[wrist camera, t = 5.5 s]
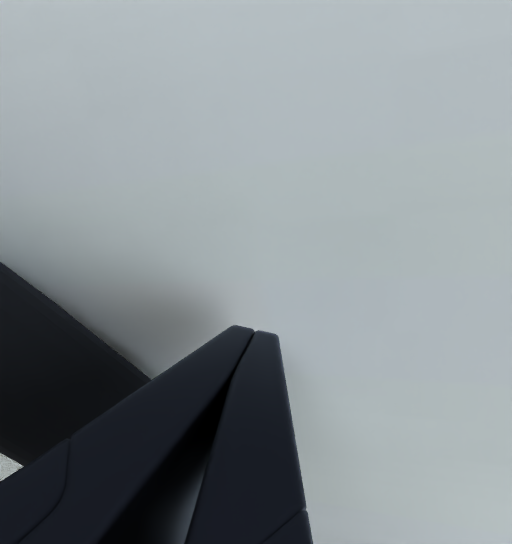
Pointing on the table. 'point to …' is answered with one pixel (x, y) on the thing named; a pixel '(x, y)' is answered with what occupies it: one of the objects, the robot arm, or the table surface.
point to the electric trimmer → (51, 372)
